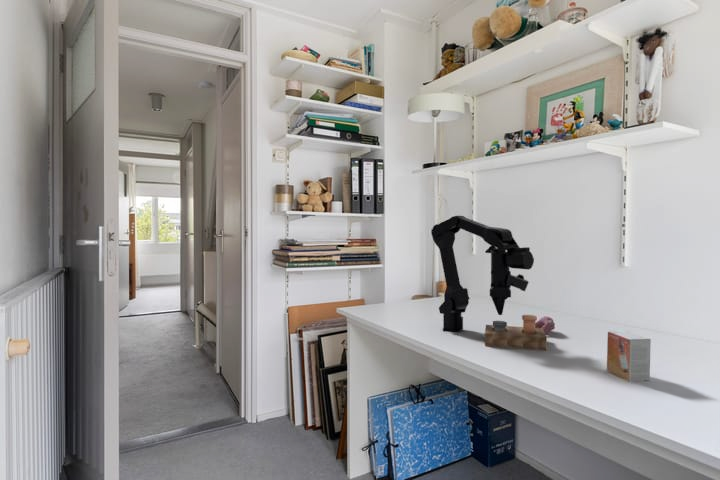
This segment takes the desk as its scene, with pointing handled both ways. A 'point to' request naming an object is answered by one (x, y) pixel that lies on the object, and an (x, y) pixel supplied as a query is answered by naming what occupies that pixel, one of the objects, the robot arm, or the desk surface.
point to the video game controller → (545, 324)
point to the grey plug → (500, 326)
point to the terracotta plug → (529, 323)
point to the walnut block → (516, 338)
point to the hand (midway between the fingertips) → (500, 314)
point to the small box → (628, 355)
